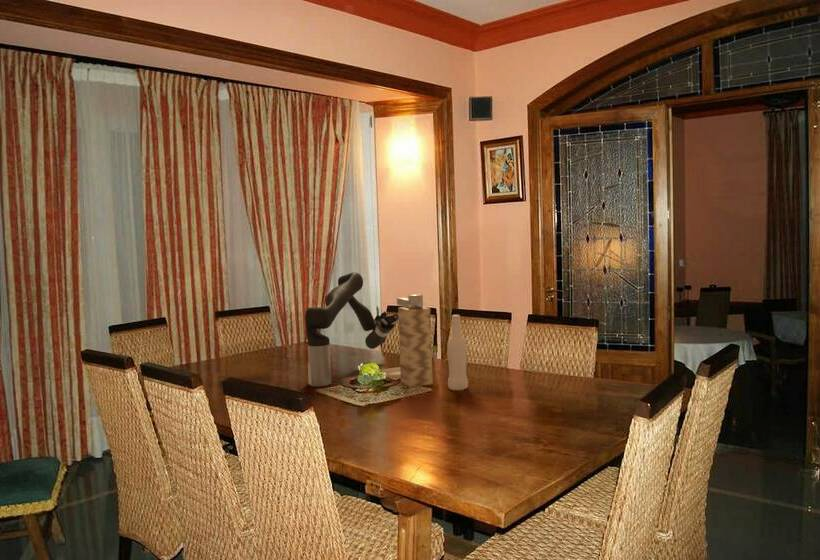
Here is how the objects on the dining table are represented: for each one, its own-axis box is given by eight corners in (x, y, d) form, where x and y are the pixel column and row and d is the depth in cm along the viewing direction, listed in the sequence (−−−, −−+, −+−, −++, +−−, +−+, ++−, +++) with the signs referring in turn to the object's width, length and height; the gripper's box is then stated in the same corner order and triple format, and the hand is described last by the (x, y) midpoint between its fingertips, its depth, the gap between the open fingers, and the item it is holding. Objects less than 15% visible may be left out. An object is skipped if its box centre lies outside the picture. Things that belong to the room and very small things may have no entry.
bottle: (461, 391, 256) (458, 316, 254) (444, 389, 261) (441, 315, 259) (471, 387, 262) (469, 314, 260) (455, 385, 267) (453, 313, 265)
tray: (387, 381, 278) (387, 375, 278) (376, 375, 291) (376, 369, 290) (417, 377, 283) (417, 372, 283) (405, 371, 296) (405, 366, 296)
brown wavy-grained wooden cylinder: (410, 386, 267) (407, 310, 264) (400, 381, 277) (398, 307, 275) (432, 384, 270) (430, 308, 268) (422, 378, 281) (419, 305, 278)
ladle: (411, 309, 266) (411, 296, 265) (393, 305, 285) (393, 292, 285) (425, 308, 268) (424, 295, 267) (406, 304, 287) (406, 291, 287)
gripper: (369, 320, 306) (378, 306, 292) (397, 318, 311) (407, 303, 298) (372, 335, 303) (381, 321, 289) (400, 332, 308) (410, 318, 295)
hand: (394, 312), depth 293 cm, fingers open, 8 cm apart
